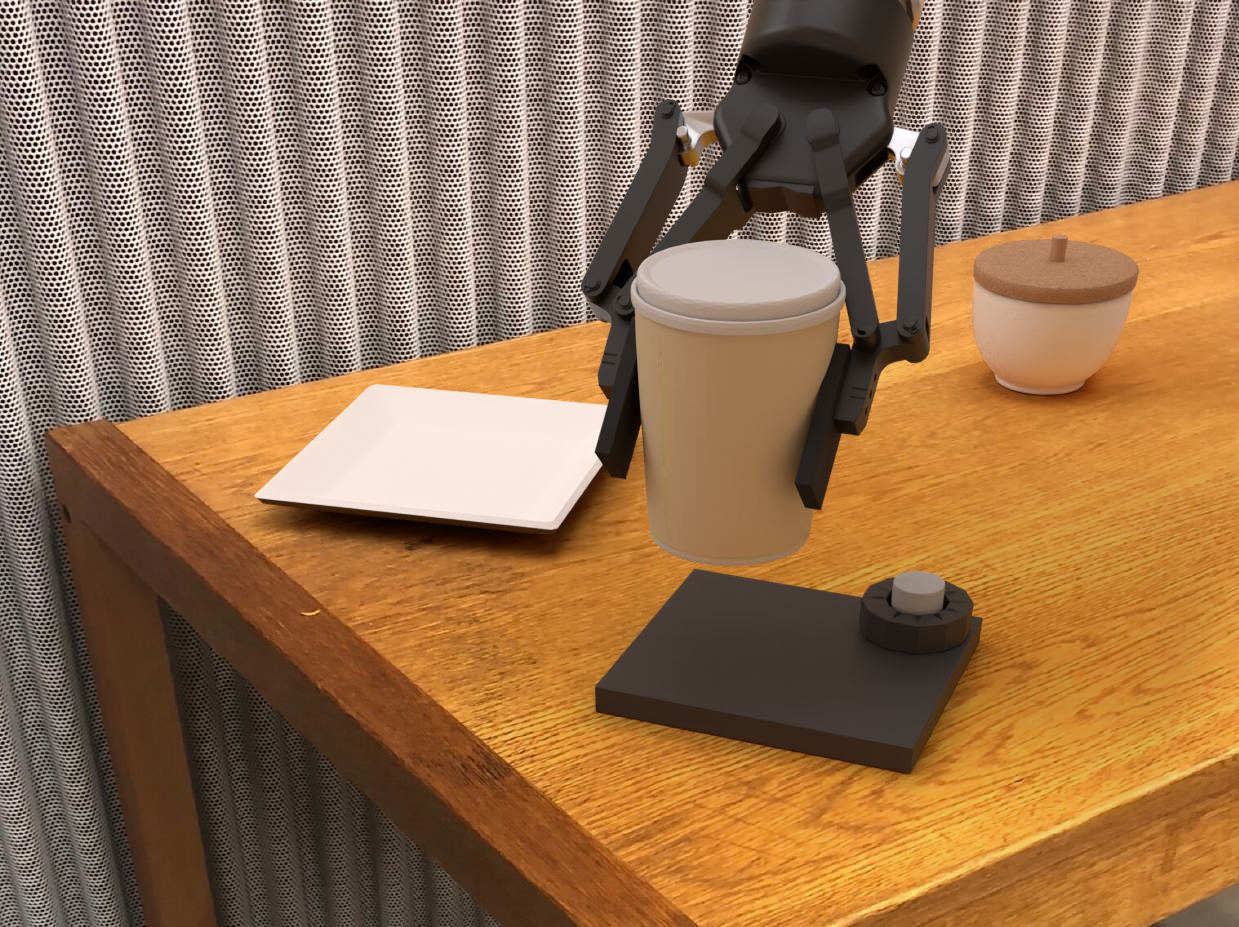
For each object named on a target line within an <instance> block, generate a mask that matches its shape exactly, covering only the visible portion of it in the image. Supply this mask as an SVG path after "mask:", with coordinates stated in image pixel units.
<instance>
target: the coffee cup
mask: <svg viewBox="0 0 1239 927" xmlns="http://www.w3.org/2000/svg"><path fill="white" fill-rule="evenodd" d="M845 297H846V288H845V285H844V283H843V281H842V280H841V276H840V271H839V269H838V266H837V263H835V262H834V261H833V260H832V259H830V258H829V257H827V256H826V255H825V254H822V253H819V252H817V251H815V250H812V249H809V248H806V247H803V246H798V245H793V244H790V243H784V242H778V241H771V240H770V241H769V240H758V239H726V240H713V241H703V242H695V243H689V244H684V245H679V246H675V247H671V248H668V249H665V250H662V251H660V252H657V253H655V254H653V255H651V256H650V257H648V258H647V259H645V260H644V261H643V262H642V264H641V265H640V267H639V269H638V272H637V277H636V278H635V279H634V281H633V282H632V285H631V301H632V304H633V306H634V308H635V326H636V347H637V364H638V380H639V396H640V412H641V427H640V428H641V439H642V455H643V470H644V484H645V486H644V487H645V499H646V500H645V501H646V510H647V511H646V512H647V520H648V529H649V530H648V531H649V533H650V537H651V539H652V541H653V542H654V543H655V544H656V545H657V547H659V548H660V549H661V550H663V551H665V552H666V553H668V554H669V555H672V556H673V557H676V558H678V559H681V560H685V561H688V562H692V563H696V564H702V565H708V566H716V567H748V566H754V565H762V564H768V563H773V562H775V561H778V560H781V559H784V558H787V557H788V556H791V555H793V554H795V553H797V552H798V551H799V550H801V548H802V547H804V545H805V544H806V543H807V541H808V539H809V537H810V534H811V528H812V522H813V516H814V512H815V511H814V510H815V509H809V508H805V507H804V504H803V502H802V500H801V497H800V495H799V493H798V490H797V488H796V486H795V484H794V483H795V479H796V475H797V472H798V468H799V464H800V461H801V457H802V453H803V450H804V446H805V442H806V439H807V435H808V431H809V428H810V424H811V420H812V417H813V413H814V409H815V406H816V402H817V398H818V395H819V391H820V387H821V384H822V381H823V378H824V376H825V374H826V371H827V369H828V366H829V364H830V361H831V357H832V354H833V351H834V347H835V343H838V337H839V328H840V318H841V311H842V309H843V308H844V306H845Z"/></svg>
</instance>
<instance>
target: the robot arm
mask: <svg viewBox="0 0 1239 927" xmlns="http://www.w3.org/2000/svg"><path fill="white" fill-rule="evenodd" d="M925 1H926V0H753V3H752V7H751V10H750V14H749V18H748V22H747V24H746V29H745V32H744V36H743V39H742V43H741V46H740V49H739V53H738V58H737V60H736V66H735V71H734V76H733V80H732V84H731V86H730V88H729V89H728V91H727V93H726V94H725V95H724V96H723V98H722V99H720V100H719V102H718V103H717V105H716V106H715V108H714V109H713V110H691V111H690V110H689V111H682V109H681V106H680V104H679V102H678V101H676V100H675V99H672V98H668V99H664V100H662V101H661V102H659V103H658V104H657V106H656V107H655V110H654V116H653V121H652V122H653V124H652V130H651V137H650V143H649V147H648V149H647V151H646V153H645V155H644V157H643V159H642V161H641V163H640V165H639V167H638V169H637V171H636V173H635V175H634V176H633V179H632V181H631V182H630V185H629V186H628V189H627V191H626V192H625V195H624V197H623V199H622V201H621V202H620V204H619V207H618V208H617V210H616V212H615V215H614V216H613V218H612V220H611V222H610V225H609V226H608V228H607V230H606V232H605V234H604V236H603V238H602V240H601V242H600V244H599V246H598V248H597V251H595V254H594V256H593V258H592V260H591V262H590V264H589V266H588V268H587V270H586V272H585V273H584V276H583V278H582V280H581V282H580V290H581V292H582V293H583V296H584V298H585V300H586V301H587V303H588V305H589V306H590V309H591V310H592V312H593V313H594V314H595V316H596V319H597V320H598V321H599V322H601V323H605V324H610V328H609V332H608V335H607V338H606V343H605V345H604V349H603V355H602V356H601V361H600V364H599V367H598V371H597V382H598V387H599V388H600V390H601V392H602V393H603V395H604V396H605V398H606V400H608V402H607V404H606V405H607V409H606V412H605V416H604V420H603V423H602V427H601V430H600V434H599V438H598V441H597V445H596V448H595V454H596V455H597V457H598V458H599V460H600V461H601V463H602V464H603V466H602V467H604V469H605V471H606V472H607V474H608V475H609V477H610V478H615V479H621V480H627V477H628V473H629V470H630V466H631V462H632V459H633V455H634V452H635V448H636V445H637V444H636V443H637V442H638V437H639V434H640V430H641V428H642V427H641V412H640V396H639V380H638V364H637V347H636V326H635V308H634V306H633V304H632V301H631V285H632V282H633V281H634V279H635V278H636V277H637V272H638V269H639V267H640V265H641V264H642V262H643V261H644V260H645V259H647V258H648V257H650V256H651V255H653V254H655V253H657V252H660V251H662V250H665V249H668V248H671V247H675V246H679V245H684V244H689V243H695V242H703V241H713V240H728V238H729V237H730V236H731V235H732V234H733V233H734V231H740V230H742V229H743V228H744V227H745V226H746V225H747V223H748V222H749V221H750V220H751V218H753V216H754V215H755V213H761V214H769V215H770V214H778V213H779V214H780V213H785V212H790V213H793V214H796V215H798V216H800V217H803V218H807V219H808V218H809V219H816V220H817V219H819V220H821V217H822V214H826V219H827V224H828V229H829V233H830V237H831V242H832V247H833V252H834V256H835V261H836V266H837V267H838V269H839V271H840V276H841V280H842V281H843V283H844V285H845V288H846V297H845V303H844V305H845V308H846V313H847V318H848V324H849V327H850V328H849V330H850V333H851V337H852V340H853V341H852V344H851V346H850V343H843V342H837V343H835V347H834V351H833V354H832V357H831V361H830V364H829V366H828V369H827V371H826V374H825V376H824V378H823V381H822V384H821V387H820V391H819V395H818V398H817V402H816V406H815V409H814V413H813V417H812V420H811V424H810V428H809V431H808V435H807V439H806V442H805V446H804V450H803V453H802V457H801V461H800V464H799V468H798V472H797V475H796V479H795V483H794V484H795V486H796V488H797V490H798V493H799V495H800V497H801V500H802V502H803V504H804V507H805V508H809V509H814V510H816V511H822V508H823V506H824V501H825V497H826V494H827V490H828V486H829V483H830V479H831V475H832V472H833V467H834V464H835V460H836V457H837V453H838V450H839V445H840V443H841V442H840V441H841V439H842V436H843V435H850V436H854V437H855V436H856V437H859V436H860V435H861V434H862V433H863V431H864V430H865V429H866V427H867V425H868V421H869V417H870V413H871V410H872V405H873V402H874V400H875V395H876V390H877V388H878V383H879V380H880V377H881V374H882V372H883V371H884V369H885V368H887V367H888V366H890V365H891V364H895V363H898V362H904V361H906V362H908V363H910V364H919V363H922V362H923V361H925V360H926V359H927V358H928V356H929V354H930V350H931V331H932V330H931V328H932V309H933V308H932V307H933V306H932V305H933V287H934V286H933V283H934V260H935V237H936V216H937V204H938V202H939V198H940V196H941V194H942V192H943V190H944V187H945V185H946V182H947V179H948V177H949V176H950V173H951V169H952V161H951V155H950V148H949V142H948V135H947V130H946V127H945V126H944V125H943V124H940V123H939V122H930V123H927V124H926V125H925V126H924V127H922V128H921V130H920V131H916V130H911V129H907V128H902V127H897V126H895V122H894V114H895V111H896V109H897V108H896V107H897V104H898V101H899V97H900V93H901V89H902V85H903V81H904V79H905V74H906V71H907V67H908V63H909V60H910V56H911V53H912V49H913V45H914V41H915V40H914V39H915V31H916V30H917V28H918V26H919V24H920V21H921V17H922V14H923V13H922V12H923V9H924V5H925ZM713 143H718V146H719V148H720V151H721V152H722V154H721V155H720V157H719V158H718V159H717V161H716V162H715V163H714V164H713V165H712V166H711V168H710V169H709V170H708V172H707V173H706V174H705V178H704V183H703V186H702V188H701V190H700V191H699V192H698V193H697V195H696V196H695V197H694V199H692V201H691V202H690V203H689V205H688V206H687V207H686V208H685V209H684V211H683V212H682V213H681V215H679V217H678V218H677V220H676V221H675V222H674V223H673V224H672V226H671V227H670V228H669V229H668V230H667V232H666V233H665V235H664V236H663V237H662V238H661V239H660V241H659V242H658V243H657V244H656V242H657V240H658V238H659V236H660V234H661V232H662V230H663V229H664V226H665V224H666V222H667V220H668V218H669V216H670V215H671V213H672V210H673V208H674V206H675V204H676V202H677V201H678V199H679V197H680V194H681V192H682V190H683V188H684V186H685V183H686V181H687V180H686V179H687V176H688V172H689V168H696V167H698V165H699V164H700V159H701V157H702V154H703V153H704V150H705V149H706V148H707V147H708V146H709V145H711V144H713ZM890 160H891V161H893V162H894V167H895V173H896V177H897V181H898V183H899V184H900V185H901V186H902V187H901V188H902V190H901V208H900V209H901V211H900V232H899V233H900V234H899V251H898V252H899V253H898V256H899V257H898V272H897V274H898V275H897V280H898V281H897V295H896V296H897V297H896V300H897V301H896V317H895V318H896V319H894V320H893V319H892V320H889V321H884V322H883V321H882V322H880V319H879V314H878V310H877V304H876V299H875V295H874V291H873V286H872V281H871V275H870V273H869V267H868V263H867V262H868V261H867V257H866V253H865V249H864V244H863V238H862V234H861V230H860V225H859V224H860V223H859V219H858V216H857V211H856V206H855V202H854V196H853V194H854V193H855V192H856V191H857V190H858V189H859V188H860V187H862V186H863V185H864V184H865V183H866V182H867V181H868V180H869V179H871V177H873V176H874V175H875V174H876V173H877V172H878V171H879V170H880V169H881V168H883V166H885V165H886V164H887V163H888V162H889V161H890ZM655 244H656V246H655ZM653 247H654V248H653Z"/></svg>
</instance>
